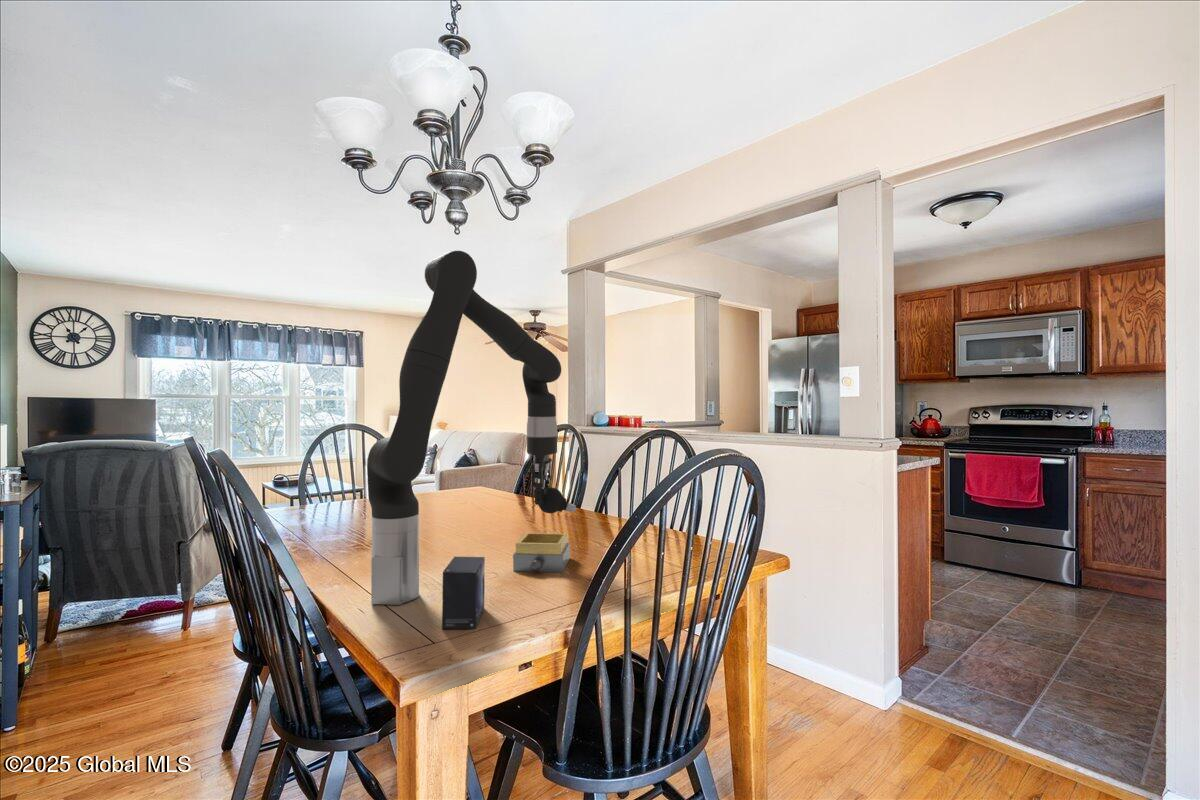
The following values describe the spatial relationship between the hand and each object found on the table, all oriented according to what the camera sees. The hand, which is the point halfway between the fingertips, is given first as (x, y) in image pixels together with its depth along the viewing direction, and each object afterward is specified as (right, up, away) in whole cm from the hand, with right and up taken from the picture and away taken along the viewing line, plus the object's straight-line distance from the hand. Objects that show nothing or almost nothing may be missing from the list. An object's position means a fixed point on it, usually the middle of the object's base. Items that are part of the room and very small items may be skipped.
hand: (542, 501), depth 143 cm
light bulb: (+3, -3, 0) cm, 4 cm away
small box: (-11, -16, -35) cm, 40 cm away
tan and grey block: (0, -16, -1) cm, 16 cm away
